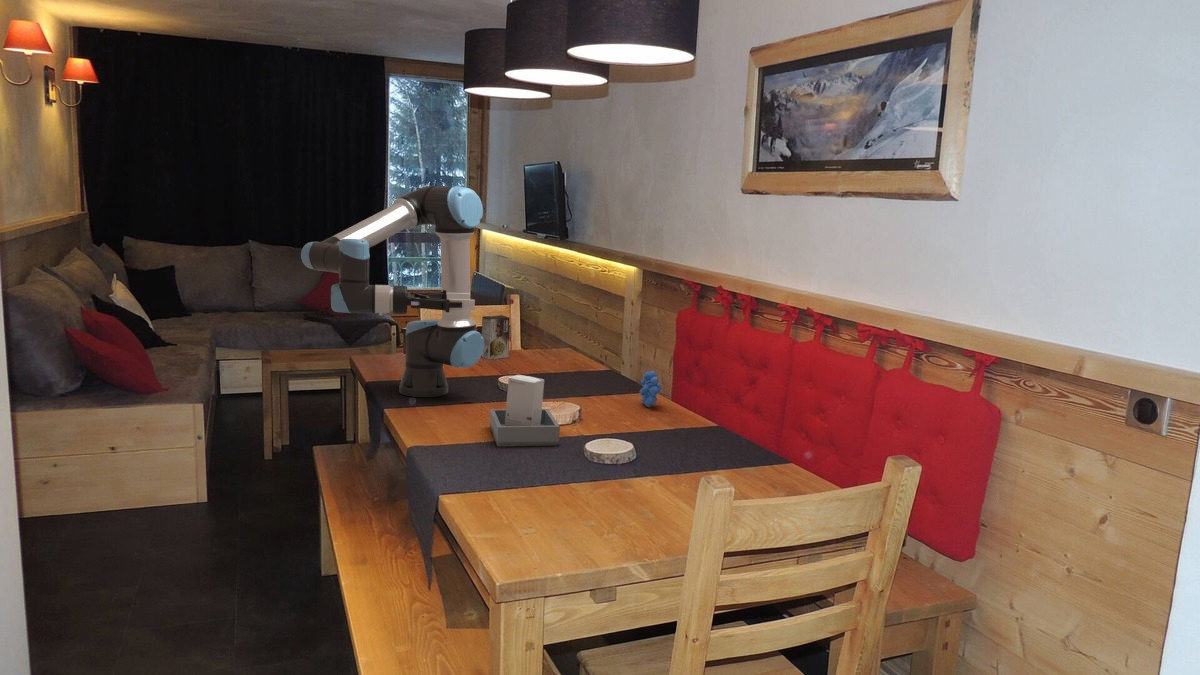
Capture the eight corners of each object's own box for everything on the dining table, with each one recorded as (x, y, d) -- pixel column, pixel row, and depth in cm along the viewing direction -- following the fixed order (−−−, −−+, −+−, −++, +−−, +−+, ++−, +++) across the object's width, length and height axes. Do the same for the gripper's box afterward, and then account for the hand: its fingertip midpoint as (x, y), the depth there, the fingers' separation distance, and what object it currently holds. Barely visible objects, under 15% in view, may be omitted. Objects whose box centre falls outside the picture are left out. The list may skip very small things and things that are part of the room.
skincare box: (503, 432, 222) (505, 377, 219) (515, 427, 227) (517, 373, 225) (531, 437, 219) (534, 381, 216) (542, 431, 224) (544, 377, 222)
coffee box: (500, 354, 333) (501, 314, 330) (509, 357, 328) (510, 317, 325) (480, 356, 327) (481, 315, 324) (489, 359, 322) (490, 318, 319)
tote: (489, 426, 230) (490, 409, 229) (547, 426, 234) (547, 408, 233) (497, 446, 212) (497, 427, 212) (559, 445, 216) (559, 426, 215)
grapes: (668, 411, 257) (670, 373, 255) (647, 412, 255) (650, 373, 253) (654, 402, 268) (656, 365, 266) (634, 403, 266) (636, 366, 264)
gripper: (392, 307, 235) (468, 308, 240) (391, 320, 211) (476, 322, 216) (392, 280, 234) (468, 282, 239) (391, 291, 210) (476, 293, 215)
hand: (472, 301), depth 228 cm, fingers open, 13 cm apart
